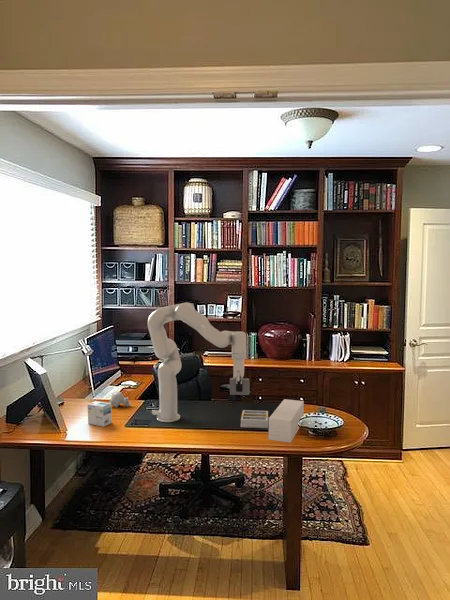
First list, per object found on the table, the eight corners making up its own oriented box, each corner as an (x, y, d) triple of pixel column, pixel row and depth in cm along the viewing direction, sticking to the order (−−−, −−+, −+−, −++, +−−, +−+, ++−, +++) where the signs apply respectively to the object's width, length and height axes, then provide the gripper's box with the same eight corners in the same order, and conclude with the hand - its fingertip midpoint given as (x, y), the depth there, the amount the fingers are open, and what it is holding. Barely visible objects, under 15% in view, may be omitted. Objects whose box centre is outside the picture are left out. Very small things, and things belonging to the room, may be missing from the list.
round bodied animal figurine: (125, 413, 270) (131, 399, 269) (106, 404, 271) (111, 391, 270) (129, 408, 277) (134, 396, 276) (111, 400, 278) (116, 387, 277)
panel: (229, 394, 243) (229, 379, 242) (230, 393, 246) (230, 378, 245) (249, 394, 242) (248, 379, 241) (249, 393, 244) (249, 378, 244)
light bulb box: (112, 423, 247) (111, 402, 246) (103, 427, 241) (103, 406, 240) (96, 420, 251) (95, 400, 250) (87, 424, 245) (87, 403, 244)
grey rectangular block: (290, 443, 221) (290, 420, 220) (268, 440, 224) (268, 418, 223) (303, 420, 250) (303, 401, 249) (283, 418, 254) (284, 399, 253)
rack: (240, 427, 240) (240, 419, 240) (242, 416, 256) (242, 409, 256) (267, 428, 239) (268, 420, 239) (268, 417, 255) (268, 410, 254)
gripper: (233, 352, 251) (233, 386, 252) (230, 358, 235) (230, 395, 236) (247, 352, 250) (247, 386, 251) (245, 359, 234) (245, 395, 235)
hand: (239, 390), depth 244 cm, fingers closed on panel, 2 cm apart
